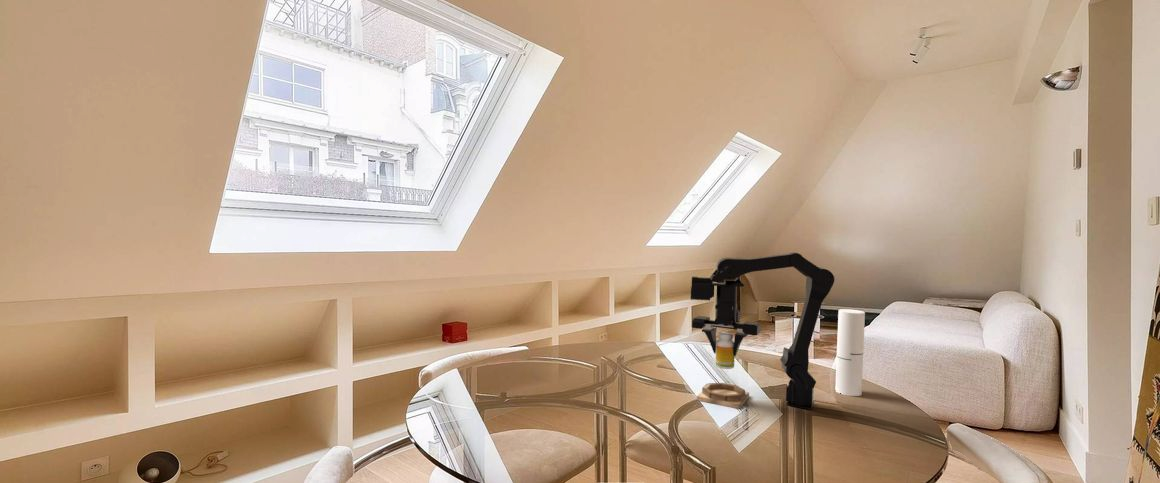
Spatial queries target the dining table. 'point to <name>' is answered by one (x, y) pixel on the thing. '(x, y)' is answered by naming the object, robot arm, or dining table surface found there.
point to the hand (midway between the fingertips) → (724, 354)
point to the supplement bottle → (724, 351)
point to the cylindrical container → (850, 352)
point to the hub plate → (723, 394)
